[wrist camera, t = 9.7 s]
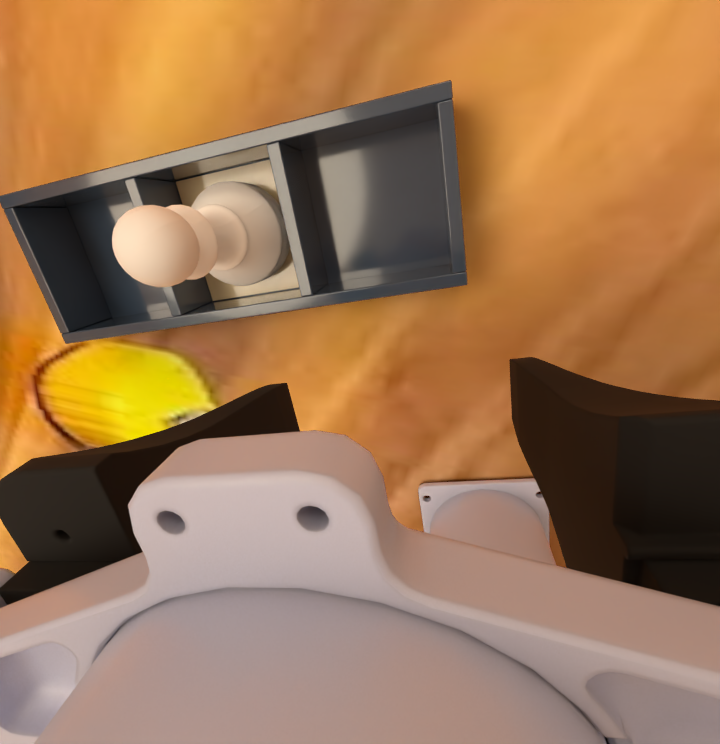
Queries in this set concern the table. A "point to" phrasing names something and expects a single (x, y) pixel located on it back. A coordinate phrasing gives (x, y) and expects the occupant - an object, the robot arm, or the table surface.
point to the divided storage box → (299, 209)
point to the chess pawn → (204, 238)
